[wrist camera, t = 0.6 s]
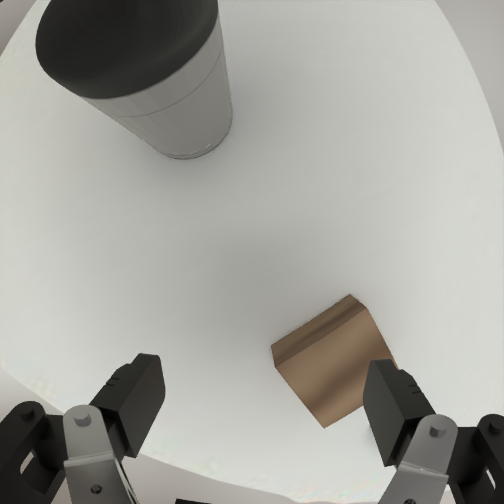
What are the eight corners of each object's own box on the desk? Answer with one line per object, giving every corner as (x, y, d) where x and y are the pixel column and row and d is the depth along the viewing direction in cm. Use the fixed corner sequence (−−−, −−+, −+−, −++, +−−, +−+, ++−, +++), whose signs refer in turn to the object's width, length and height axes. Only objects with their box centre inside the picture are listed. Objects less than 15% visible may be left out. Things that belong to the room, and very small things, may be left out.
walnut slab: (270, 345, 31) (275, 367, 27) (349, 293, 31) (366, 307, 26) (315, 403, 33) (323, 428, 28) (385, 358, 32) (403, 377, 27)
